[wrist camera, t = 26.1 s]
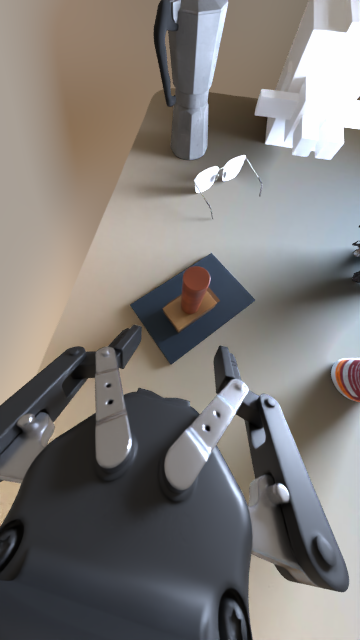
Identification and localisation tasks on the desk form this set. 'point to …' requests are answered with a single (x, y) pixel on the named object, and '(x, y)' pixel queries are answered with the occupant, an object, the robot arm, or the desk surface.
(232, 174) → the eyeglasses
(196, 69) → the coffeepot
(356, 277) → the figurine
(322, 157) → the white voxel figure
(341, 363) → the pill bottle
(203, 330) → the mat
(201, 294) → the stamp
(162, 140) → the desk surface
